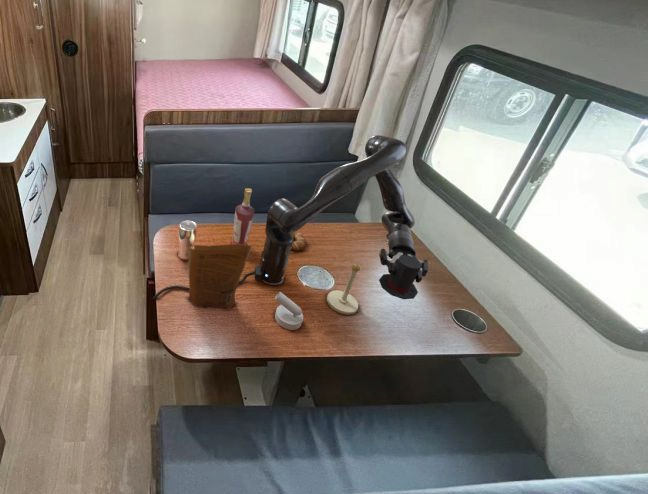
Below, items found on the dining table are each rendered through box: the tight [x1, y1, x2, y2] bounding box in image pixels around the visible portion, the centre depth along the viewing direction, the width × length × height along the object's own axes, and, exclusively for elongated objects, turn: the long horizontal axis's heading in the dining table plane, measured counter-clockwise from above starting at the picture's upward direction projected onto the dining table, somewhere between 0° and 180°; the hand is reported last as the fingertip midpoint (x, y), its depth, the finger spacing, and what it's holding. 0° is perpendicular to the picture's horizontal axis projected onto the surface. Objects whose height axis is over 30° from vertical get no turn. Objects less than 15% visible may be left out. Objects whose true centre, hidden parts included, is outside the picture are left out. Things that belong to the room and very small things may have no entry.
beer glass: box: [177, 219, 198, 261], centre depth 154 cm, size 7×7×15 cm
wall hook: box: [274, 291, 304, 331], centre depth 129 cm, size 9×10×10 cm
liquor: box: [230, 187, 256, 245], centre depth 156 cm, size 7×7×28 cm
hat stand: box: [326, 263, 361, 316], centre depth 133 cm, size 10×10×18 cm
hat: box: [378, 255, 421, 300], centre depth 125 cm, size 11×11×11 cm
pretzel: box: [291, 231, 308, 252], centre depth 164 cm, size 12×11×4 cm
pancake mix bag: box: [187, 244, 252, 310], centre depth 130 cm, size 7×19×28 cm, turn 83°
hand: (405, 276), depth 123 cm, fingers closed on hat, 6 cm apart
